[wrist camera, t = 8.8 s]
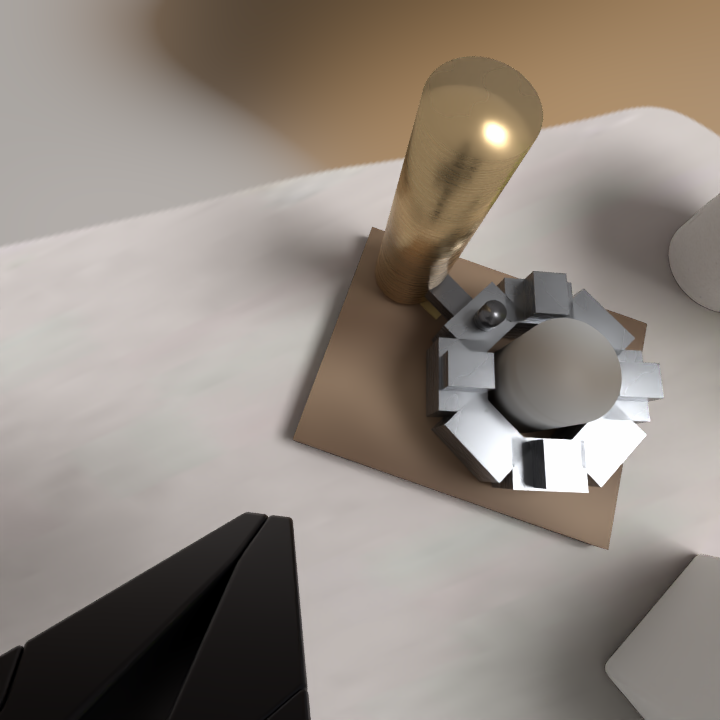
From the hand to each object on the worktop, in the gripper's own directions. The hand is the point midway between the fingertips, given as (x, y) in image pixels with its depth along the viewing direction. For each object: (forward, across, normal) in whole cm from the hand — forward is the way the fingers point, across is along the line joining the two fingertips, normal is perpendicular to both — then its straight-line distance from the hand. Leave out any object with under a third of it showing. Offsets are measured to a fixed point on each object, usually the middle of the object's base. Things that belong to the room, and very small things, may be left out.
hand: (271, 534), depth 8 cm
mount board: (+14, +6, -3) cm, 16 cm away
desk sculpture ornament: (+14, +6, -1) cm, 15 cm away
